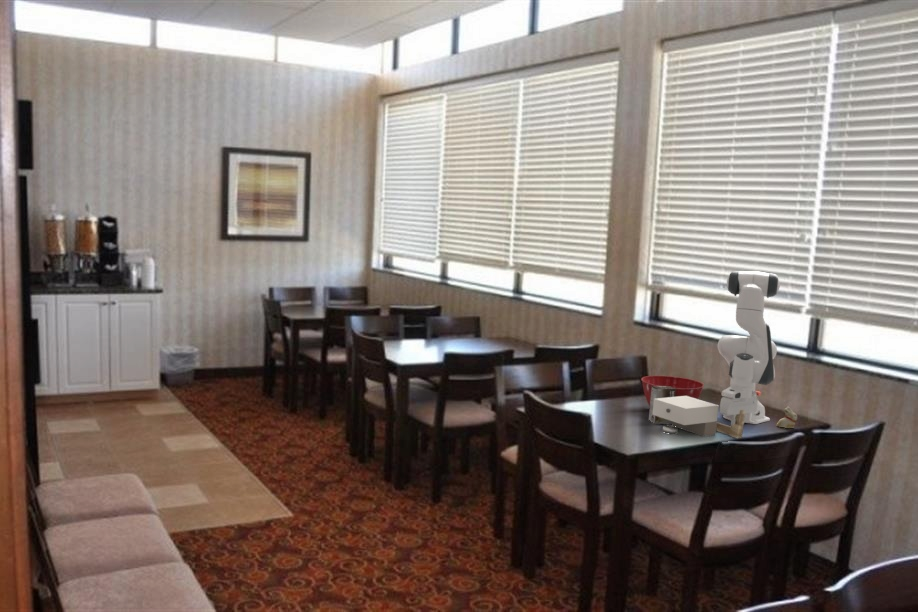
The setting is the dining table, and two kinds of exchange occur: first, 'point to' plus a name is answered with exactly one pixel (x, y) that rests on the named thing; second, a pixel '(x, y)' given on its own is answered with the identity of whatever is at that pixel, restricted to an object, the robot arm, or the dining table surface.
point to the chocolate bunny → (788, 419)
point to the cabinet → (688, 414)
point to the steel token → (670, 429)
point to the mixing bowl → (680, 384)
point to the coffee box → (660, 393)
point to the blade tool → (733, 426)
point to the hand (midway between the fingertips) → (737, 423)
